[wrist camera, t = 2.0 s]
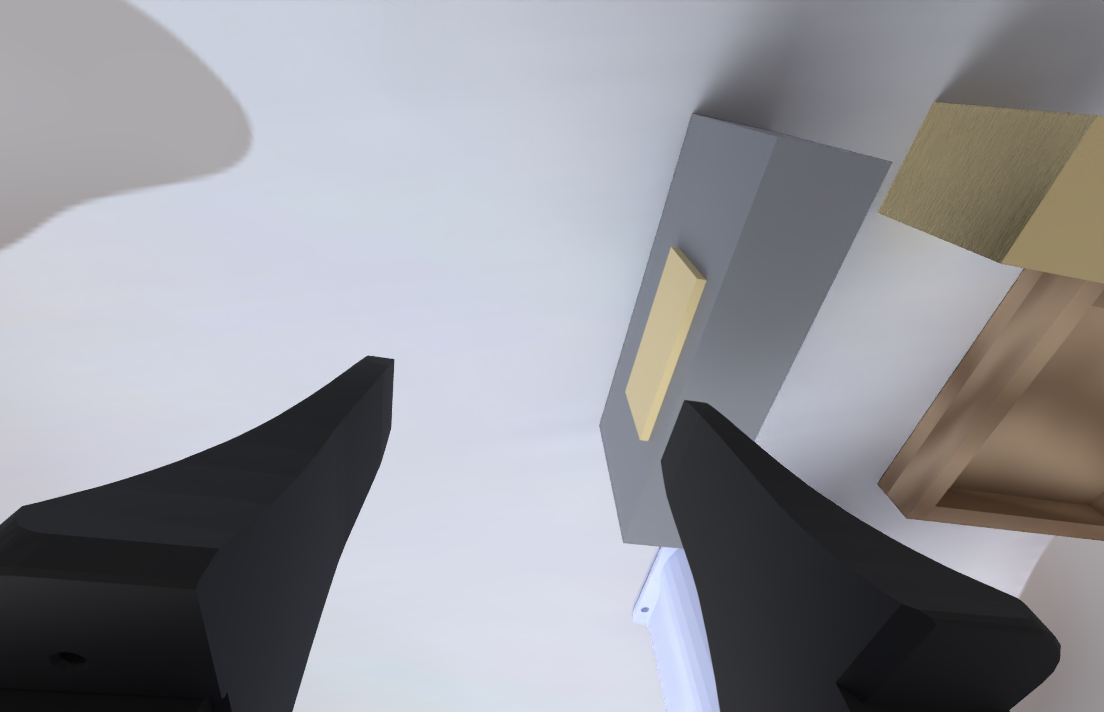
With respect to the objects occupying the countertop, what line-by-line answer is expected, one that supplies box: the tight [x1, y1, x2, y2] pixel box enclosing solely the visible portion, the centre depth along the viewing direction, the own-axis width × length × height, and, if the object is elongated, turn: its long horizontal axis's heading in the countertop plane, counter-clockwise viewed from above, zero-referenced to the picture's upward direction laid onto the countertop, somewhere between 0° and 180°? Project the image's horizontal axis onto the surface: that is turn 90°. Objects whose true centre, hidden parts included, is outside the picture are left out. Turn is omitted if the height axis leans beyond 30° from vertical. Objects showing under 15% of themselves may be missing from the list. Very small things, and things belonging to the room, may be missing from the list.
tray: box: [878, 268, 1104, 541], centre depth 24 cm, size 13×13×2 cm
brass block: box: [878, 102, 1104, 284], centre depth 17 cm, size 4×4×6 cm
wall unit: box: [599, 114, 892, 549], centre depth 18 cm, size 14×3×7 cm, turn 169°
